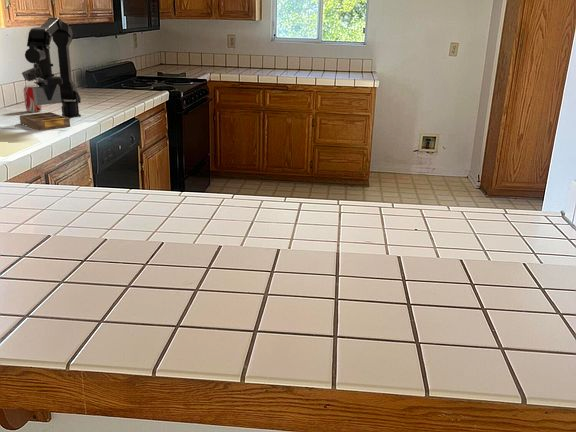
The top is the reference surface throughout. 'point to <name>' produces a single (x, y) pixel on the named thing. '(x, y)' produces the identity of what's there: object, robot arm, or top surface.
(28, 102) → the soda can
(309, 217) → the top surface
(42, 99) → the block
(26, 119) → the rack
